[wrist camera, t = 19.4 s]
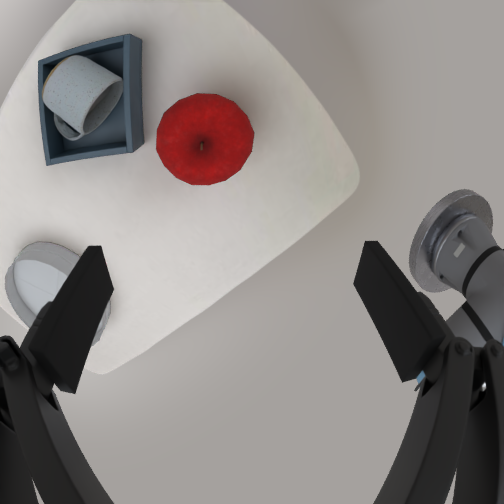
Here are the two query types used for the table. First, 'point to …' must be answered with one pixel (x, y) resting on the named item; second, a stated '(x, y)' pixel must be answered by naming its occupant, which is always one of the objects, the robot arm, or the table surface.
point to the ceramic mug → (80, 95)
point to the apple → (204, 139)
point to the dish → (41, 280)
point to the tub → (120, 118)
